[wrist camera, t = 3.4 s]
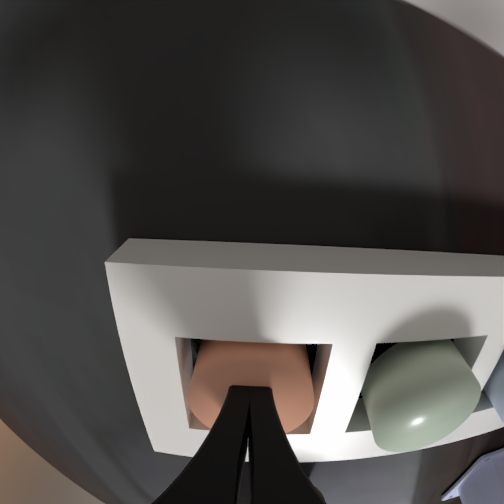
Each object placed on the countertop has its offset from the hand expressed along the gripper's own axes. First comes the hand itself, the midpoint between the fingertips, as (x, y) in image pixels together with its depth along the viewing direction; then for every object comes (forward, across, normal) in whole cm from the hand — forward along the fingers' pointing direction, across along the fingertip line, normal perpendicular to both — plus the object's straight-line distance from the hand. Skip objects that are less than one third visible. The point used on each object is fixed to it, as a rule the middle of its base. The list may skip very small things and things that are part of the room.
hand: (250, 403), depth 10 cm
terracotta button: (+2, 0, 0) cm, 2 cm away
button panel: (+2, -6, 0) cm, 7 cm away
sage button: (+1, -6, 0) cm, 7 cm away
